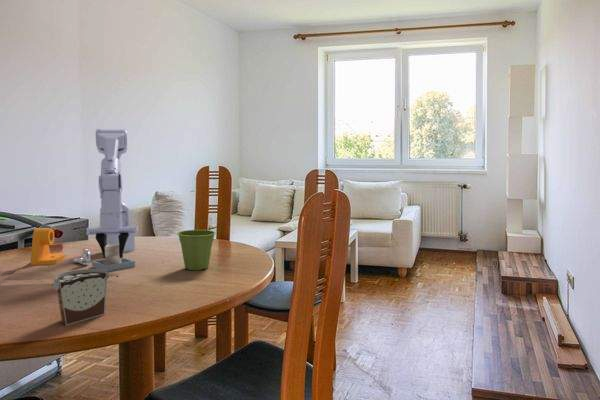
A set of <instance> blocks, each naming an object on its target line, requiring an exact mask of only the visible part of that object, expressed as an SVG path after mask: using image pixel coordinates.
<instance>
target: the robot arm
mask: <svg viewBox="0 0 600 400" xmlns="http://www.w3.org/2000/svg"><path fill="white" fill-rule="evenodd" d="M95 145H96V148H97V151H98V153H99V154H102V155H104V158H102V159H101V160H100V161H101V162H100V175H98V189H99V198H100V199H101V200H100V205H101V207H100V210H99V225H100V226H99V227H97V226H96V227H86V236H92V235H94V236H95V240H96V242H97V243H98V245H99V248H100V251H101V252H102V255H103V257H102V258H104V259H105V246H106V245H108V244H119V255H120V258H122V257H123V258H124V253H127V252H134V251H135V250H136V246H135V245H136V242H135V235H137V234H138V230H139V229H138V226H131V215H130V214H131V212H130V207H129V205H127V203H125V202H123V201H122V191H123V176H122V173H121V165H122V163H121V161H120V160H121V157H122V155H123V154H125V153H127V150H128V131H127V130H126V128H123V129H118V128H116V129H115V128H114V129H113V128H111V129H110V128H108V129H107V128H105V129H104V128H102V129H100V128H97V129H95ZM104 259H103V260H104Z"/></svg>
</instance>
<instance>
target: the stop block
mask: <svg viewBox="0 0 600 400" xmlns="http://www.w3.org/2000/svg"><path fill="white" fill-rule="evenodd" d="M118 263H121V258H120V255H119V244H108V245H106V246H105V265H111V264H118Z"/></svg>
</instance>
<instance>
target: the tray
mask: <svg viewBox="0 0 600 400" xmlns="http://www.w3.org/2000/svg"><path fill="white" fill-rule="evenodd" d="M91 263H92V264H91V267H92V268H93V269H105V270H107V272H108V273H110V272H113V271H119V270H125V269H131V268H136V261H135V260H132V259H129V258H126V257H124V256H123V257H122V258H121V263H118V264H111V265H105V259H101V260H94V261H91Z"/></svg>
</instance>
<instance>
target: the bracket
mask: <svg viewBox="0 0 600 400" xmlns="http://www.w3.org/2000/svg"><path fill="white" fill-rule="evenodd" d="M54 242H55V230H54V229H53V227H42V228H41V227H38V228H37V227H36V228H34V230H33V232H32V242H31V250H30V251H31V254H30V266H43V265H44V266H46V265H57V264H58V263H60V262H61V261H63V260H65V259H66V258H67V257H66V256H67V255H66V253H51V250H50V246H52V245H53V244H54Z"/></svg>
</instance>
